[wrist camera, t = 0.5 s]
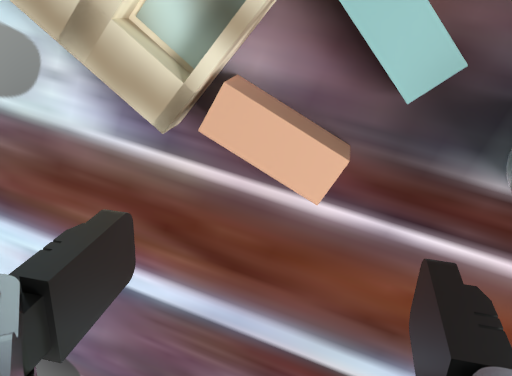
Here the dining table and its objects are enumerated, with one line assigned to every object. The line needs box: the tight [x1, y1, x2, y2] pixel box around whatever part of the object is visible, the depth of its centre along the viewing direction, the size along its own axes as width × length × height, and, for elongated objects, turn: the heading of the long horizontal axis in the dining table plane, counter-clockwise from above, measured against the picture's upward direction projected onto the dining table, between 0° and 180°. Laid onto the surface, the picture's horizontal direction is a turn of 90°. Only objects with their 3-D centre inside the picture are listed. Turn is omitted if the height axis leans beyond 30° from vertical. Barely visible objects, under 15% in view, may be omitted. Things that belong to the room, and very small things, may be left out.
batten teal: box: [339, 0, 468, 104], centre depth 28 cm, size 10×4×4 cm, turn 38°
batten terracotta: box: [198, 75, 350, 205], centre depth 33 cm, size 10×4×4 cm, turn 60°
